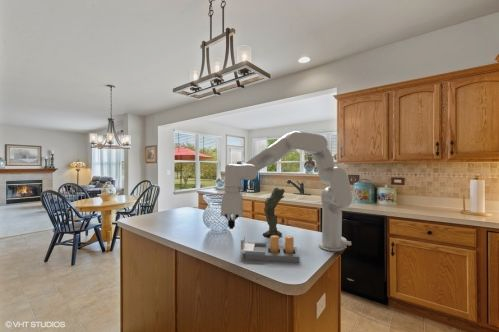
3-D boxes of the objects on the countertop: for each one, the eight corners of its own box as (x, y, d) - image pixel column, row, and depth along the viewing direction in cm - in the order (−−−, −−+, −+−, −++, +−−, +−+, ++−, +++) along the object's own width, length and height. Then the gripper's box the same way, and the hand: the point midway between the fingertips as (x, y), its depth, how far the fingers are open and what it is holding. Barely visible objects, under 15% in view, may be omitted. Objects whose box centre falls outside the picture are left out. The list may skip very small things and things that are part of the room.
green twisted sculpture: (259, 237, 135) (272, 186, 136) (256, 233, 142) (268, 185, 143) (281, 240, 138) (293, 191, 140) (276, 237, 145) (288, 190, 147)
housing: (296, 252, 115) (296, 244, 115) (299, 262, 103) (299, 253, 103) (247, 249, 117) (248, 242, 117) (245, 259, 105) (245, 251, 105)
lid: (254, 245, 116) (254, 235, 116) (253, 253, 106) (253, 242, 106) (242, 245, 116) (242, 235, 116) (240, 252, 107) (240, 241, 107)
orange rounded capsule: (277, 254, 112) (278, 235, 112) (279, 257, 108) (279, 237, 108) (269, 254, 112) (270, 235, 112) (270, 257, 108) (271, 237, 108)
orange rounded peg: (284, 254, 112) (284, 235, 112) (293, 255, 111) (293, 236, 111) (285, 258, 108) (285, 238, 108) (293, 258, 107) (294, 238, 107)
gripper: (248, 189, 114) (247, 227, 115) (218, 188, 116) (217, 225, 116) (247, 191, 107) (246, 231, 107) (215, 190, 108) (214, 229, 109)
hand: (231, 228), depth 112 cm, fingers closed
